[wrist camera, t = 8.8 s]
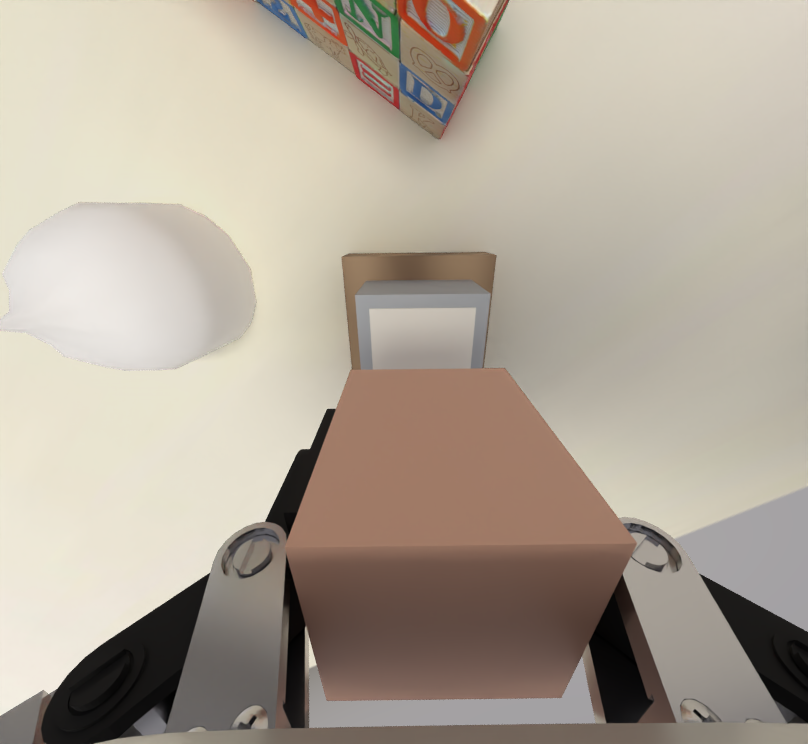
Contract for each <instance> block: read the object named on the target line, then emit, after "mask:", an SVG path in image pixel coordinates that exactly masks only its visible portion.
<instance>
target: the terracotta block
mask: <svg viewBox="0 0 808 744" xmlns="http://www.w3.org/2000/svg"><path fill="white" fill-rule="evenodd" d="M636 545H637V542H636V541H635V539H634V538H633V537H632V536H631V534H630V533H629V532H628V530H627V529H626V528H625V526H624V525H623V524H622V522H621V521H620V520H619V518H618V517H617V516H616V514H615V513H614V512H613V510H612V509H611V508H610V506H609V505H608V504H607V502H606V501H605V500H604V498H603V497H602V496H601V495H600V493H599V492H598V491H597V489H596V488H595V487H594V485H593V484H592V483H591V481H590V480H589V479H588V477H587V476H586V475H585V473H584V472H583V471H582V469H581V468H580V467H579V465H578V464H577V463H576V461H575V460H574V459H573V457H572V456H571V455H570V454H569V452H568V451H567V450H566V448H565V447H564V446H563V444H562V443H561V442H560V440H559V439H558V438H557V436H556V435H555V434H554V432H553V431H552V430H551V428H550V427H549V426H548V424H547V423H546V422H545V420H544V419H543V418H542V416H541V415H540V414H539V412H538V411H537V410H536V409H535V407H534V406H533V405H532V403H531V402H530V401H529V399H528V398H527V397H526V395H525V394H524V393H523V391H522V390H521V389H520V387H519V386H518V385H517V383H516V382H515V381H514V379H513V378H512V377H511V375H510V374H509V373H508V371H507V370H506V369H505V368H472V369H378V370H350V373H349V376H348V378H347V381H346V384H345V387H344V389H343V392H342V395H341V397H340V400H339V403H338V405H337V408H336V411H335V413H334V416H333V419H332V421H331V424H330V427H329V430H328V432H327V435H326V438H325V440H324V443H323V446H322V448H321V451H320V454H319V456H318V459H317V462H316V464H315V467H314V470H313V473H312V475H311V478H310V481H309V483H308V486H307V489H306V491H305V494H304V497H303V499H302V502H301V505H300V507H299V510H298V513H297V516H296V518H295V521H294V524H293V526H292V529H291V532H290V534H289V537H288V540H287V542H286V545H285V551H286V554H287V558H288V562H289V565H290V569H291V573H292V576H293V580H294V584H295V587H296V591H297V594H298V598H299V602H300V605H301V609H302V613H303V616H304V620H305V623H306V627H307V631H308V634H309V638H310V642H311V645H312V649H313V653H314V656H315V660H316V663H317V667H318V671H319V674H320V678H321V682H322V685H323V689H324V692H325V696H326V700H327V701H356V700H432V699H433V700H434V699H435V700H436V699H513V698H515V699H516V698H561V697H562V695H563V693H564V691H565V689H566V687H567V685H568V683H569V681H570V679H571V677H572V675H573V673H574V671H575V669H576V667H577V665H578V663H579V661H580V659H581V657H582V655H583V653H584V651H585V649H586V647H587V645H588V643H589V641H590V639H591V637H592V635H593V633H594V631H595V628H596V626H597V624H598V622H599V620H600V618H601V616H602V614H603V612H604V610H605V608H606V606H607V604H608V602H609V600H610V598H611V596H612V594H613V592H614V590H615V588H616V586H617V584H618V582H619V580H620V578H621V576H622V574H623V572H624V570H625V568H626V566H627V564H628V562H629V560H630V558H631V556H632V553H633V551H634V549H635V547H636Z"/></svg>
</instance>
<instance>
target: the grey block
mask: <svg viewBox="0 0 808 744" xmlns="http://www.w3.org/2000/svg"><path fill="white" fill-rule="evenodd" d="M490 295H491V294H490V293H489V292H488V291H486V290H485V289H483V288H482V287H481V286H479V285H478V284H477V283H475V282H474V281H472V280H381V281H366V282H365V283H364V284H363V285H362V287H361V288H360V289H359V291H358V292H357V293H356V294H355V302H356V314H357V327H358V339H359V352H360V364H361V370H378V369H472V368H482V367H483V358H484V349H485V340H486V331H487V322H488V313H489V304H490Z"/></svg>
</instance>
